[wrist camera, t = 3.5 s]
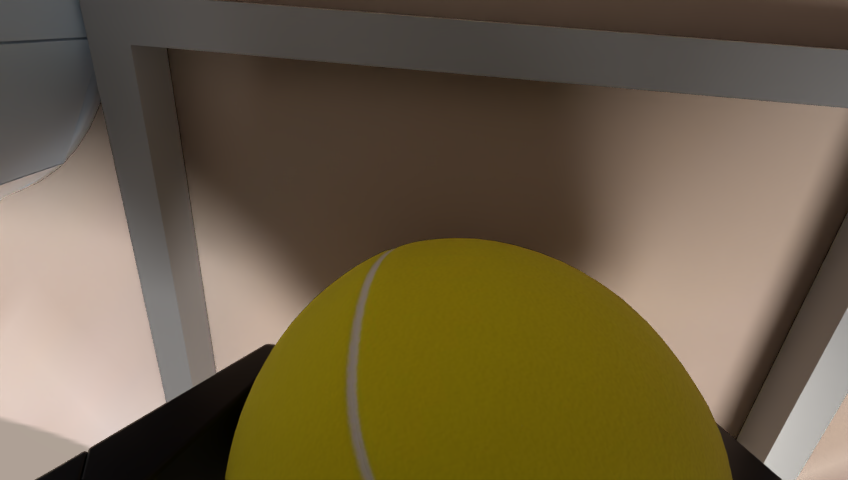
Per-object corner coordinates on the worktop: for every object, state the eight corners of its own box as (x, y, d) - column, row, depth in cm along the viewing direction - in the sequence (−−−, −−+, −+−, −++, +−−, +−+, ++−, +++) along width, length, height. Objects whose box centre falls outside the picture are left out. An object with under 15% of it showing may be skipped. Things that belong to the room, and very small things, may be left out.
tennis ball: (384, 122, 9) (124, 377, 3) (714, 271, 9) (1171, 804, 3) (287, 378, 12) (61, 777, 6) (538, 483, 12) (584, 964, 6)
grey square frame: (979, 59, 8) (1042, 65, 7) (716, 547, 13) (733, 586, 12) (118, -8, 9) (76, -11, 8) (204, 461, 14) (185, 491, 14)
